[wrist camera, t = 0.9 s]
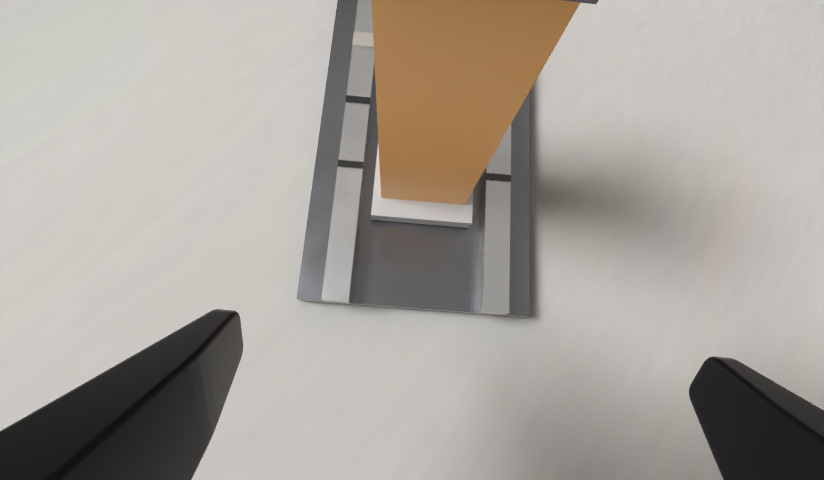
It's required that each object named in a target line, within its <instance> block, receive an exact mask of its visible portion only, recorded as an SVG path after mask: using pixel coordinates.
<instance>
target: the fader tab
mask: <svg viewBox="0 0 824 480" xmlns="http://www.w3.org/2000/svg"><path fill="white" fill-rule="evenodd" d="M371 2H372V22H373V42H374V63H375V83H376V104H377V124H378V148H377V158H376V169H375V179H374V189H373V199H372V209H371V219H372V220H379V221H391V222H403V223H415V224H427V225H439V226H451V227H463V228H469V227H470V226H471V224H472V211H473V189H474V187H475V186H476V184H477V182H478V180H479V179H480V177H481V175H482V173H483V172H484V170H485V168H486V166H487V165H488V163H489V161H490V159H491V158H492V156H493V154H494V152H495V151H496V149H497V147H498V145H499V144H500V142H501V140H502V138H503V137H504V135H505V133H506V131H507V130H508V128H509V126H510V124H511V123H512V121H513V119H514V117H515V116H516V114H517V112H518V110H519V109H520V107H521V105H522V103H523V102H524V100H525V98H526V96H527V95H528V93H529V91H530V89H531V88H532V86H533V84H534V83H535V81H536V79H537V77H538V76H539V74H540V72H541V70H542V69H543V67H544V65H545V63H546V62H547V60H548V58H549V56H550V55H551V53H552V51H553V49H554V48H555V46H556V44H557V42H558V41H559V39H560V37H561V35H562V34H563V32H564V30H565V28H566V27H567V25H568V23H569V21H570V20H571V18H572V16H573V14H574V13H575V11H576V9H577V7H578V6H579V4H580V2H581V3H591V4H596V3H597V2H598V0H371Z"/></svg>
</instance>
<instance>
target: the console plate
mask: <svg viewBox="0 0 824 480" xmlns="http://www.w3.org/2000/svg"><path fill="white" fill-rule="evenodd" d="M377 148H378V124H377V104H376V83H375V63H374V42H373V22H372V2H371V0H338V3H337V10H336V17H335V24H334V32H333V39H332V46H331V53H330V61H329V68H328V75H327V82H326V90H325V97H324V104H323V112H322V119H321V126H320V133H319V141H318V148H317V155H316V162H315V170H314V177H313V184H312V191H311V199H310V206H309V213H308V221H307V228H306V235H305V242H304V250H303V257H302V264H301V271H300V279H299V286H298V293H297V300H300V301H310V302H324V303H337V304H350V305H364V306H377V307H390V308H404V309H417V310H431V311H444V312H457V313H471V314H484V315H498V316H511V317H524V318H525V317H530V91H529V93H528V95H527V96H526V98H525V100H524V102H523V103H522V105H521V107H520V109H519V110H518V112H517V114H516V116H515V117H514V119H513V121H512V123H511V124H510V126H509V128H508V130H507V131H506V133H505V135H504V137H503V138H502V140H501V142H500V144H499V145H498V147H497V149H496V151H495V152H494V154H493V156H492V158H491V159H490V161H489V163H488V165H487V166H486V168H485V170H484V172H483V173H482V175H481V177H480V179H479V180H478V182H477V184H476V186H475V187H474V189H473V211H472V224H471V226H470V227H469V228H463V227H451V226H439V225H427V224H415V223H403V222H391V221H379V220H372V219H371V209H372V199H373V189H374V179H375V169H376V158H377Z"/></svg>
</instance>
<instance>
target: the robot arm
mask: <svg viewBox="0 0 824 480" xmlns="http://www.w3.org/2000/svg"><path fill="white" fill-rule="evenodd" d="M242 352H243V339H242V331H241V322H240V316H239V314H238V313H237V312H236V311H231V310H221V309H216V310H213V311H211V312H209V313H207V314H205V315H203V316H202V317H200V318H198V319H196V320H195V321H193V322H191V323H189V324H188V325H186V326H184V327H182V328H181V329H179V330H177V331H175V332H174V333H172V334H170V335H168V336H167V337H165V338H163V339H161V340H160V341H158V342H156V343H154V344H153V345H151V346H149V347H147V348H146V349H144V350H142V351H140V352H139V353H137V354H135V355H133V356H132V357H130V358H128V359H126V360H124V361H123V362H121V363H119V364H117V365H116V366H114V367H112V368H110V369H109V370H107V371H105V372H103V373H102V374H100V375H98V376H96V377H95V378H93V379H91V380H89V381H88V382H86V383H84V384H82V385H81V386H79V387H77V388H75V389H74V390H72V391H70V392H68V393H67V394H65V395H63V396H61V397H60V398H58V399H56V400H54V401H53V402H51V403H49V404H47V405H45V406H44V407H42V408H40V409H38V410H37V411H35V412H33V413H31V414H30V415H28V416H26V417H24V418H23V419H21V420H19V421H17V422H16V423H14V424H12V425H10V426H9V427H7V428H5V429H3V430H2V431H0V480H191V479H192V477H193V475H194V473H195V471H196V469H197V467H198V465H199V463H200V461H201V459H202V457H203V455H204V453H205V451H206V448H207V446H208V444H209V442H210V440H211V438H212V435H213V433H214V430H215V428H216V425H217V423H218V420H219V417H220V414H221V412H222V409H223V406H224V403H225V401H226V398H227V395H228V392H229V390H230V387H231V384H232V381H233V379H234V376H235V373H236V370H237V368H238V365H239V362H240V359H241V356H242ZM689 396H690V400H691V402H692V405H693V407H694V410H695V412H696V415H697V417H698V419H699V422H700V424H701V427H702V429H703V432H704V434H705V436H706V439H707V441H708V444H709V446H710V449H711V451H712V453H713V456H714V458H715V461H716V463H717V466H718V468H719V470H720V472H721V475H722V477H723V479H724V480H824V410H822V409H820V408H818V407H817V406H815V405H813V404H811V403H810V402H808V401H806V400H804V399H803V398H801V397H799V396H798V395H796V394H794V393H792V392H791V391H789V390H787V389H785V388H784V387H782V386H780V385H779V384H777V383H775V382H773V381H772V380H770V379H768V378H766V377H765V376H763V375H761V374H760V373H758V372H756V371H754V370H753V369H751V368H749V367H747V366H746V365H744V364H742V363H740V362H739V361H737V360H735V359H731V358H723V357H710V358H708V359H707V360H705V362H704V363H703V365H702V367H701V368H700V370H699V372H698V373H697V375H696V377H695V378H694V380H693V382H692V383H691V385H690V388H689Z"/></svg>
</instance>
